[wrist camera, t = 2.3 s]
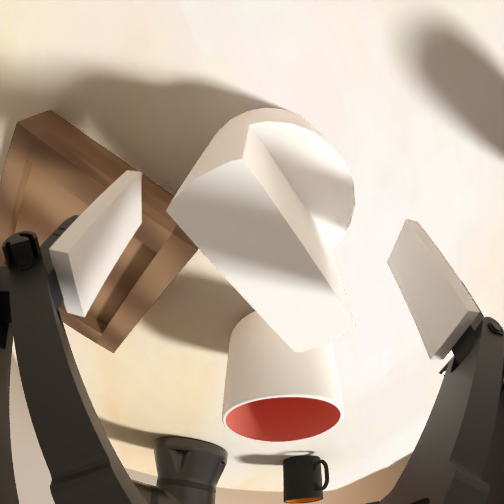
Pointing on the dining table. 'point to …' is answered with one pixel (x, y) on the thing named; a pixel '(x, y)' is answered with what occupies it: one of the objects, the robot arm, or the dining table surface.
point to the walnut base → (75, 203)
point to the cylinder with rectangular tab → (274, 221)
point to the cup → (278, 386)
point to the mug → (304, 479)
